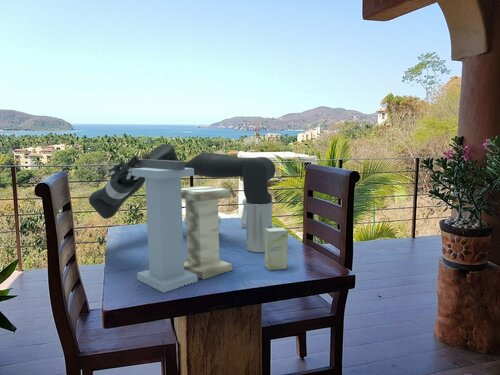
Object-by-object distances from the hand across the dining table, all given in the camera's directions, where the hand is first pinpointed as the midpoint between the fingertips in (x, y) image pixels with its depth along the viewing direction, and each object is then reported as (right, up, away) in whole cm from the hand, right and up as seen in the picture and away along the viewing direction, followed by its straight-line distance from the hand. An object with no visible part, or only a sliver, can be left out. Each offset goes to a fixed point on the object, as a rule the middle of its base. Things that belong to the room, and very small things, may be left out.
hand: (142, 158), depth 114 cm
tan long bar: (+5, -3, -4) cm, 7 cm away
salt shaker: (+30, -27, +62) cm, 74 cm away
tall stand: (+8, -35, -3) cm, 36 cm away
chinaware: (+12, -29, +46) cm, 56 cm away
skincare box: (+40, -34, +7) cm, 52 cm away
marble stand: (+17, -34, +6) cm, 38 cm away
